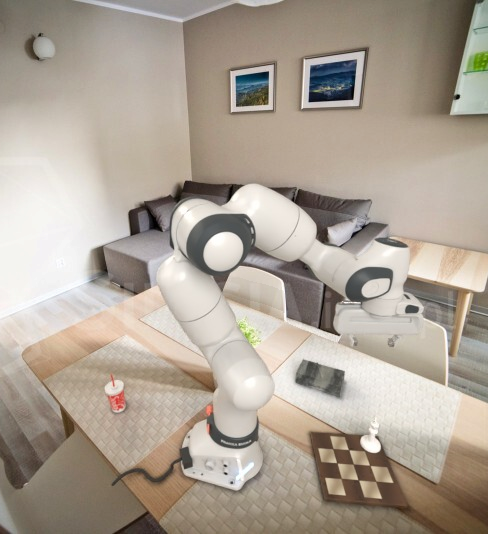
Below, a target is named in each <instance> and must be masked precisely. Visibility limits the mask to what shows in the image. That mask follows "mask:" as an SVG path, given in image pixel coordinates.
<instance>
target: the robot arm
mask: <svg viewBox="0 0 488 534" xmlns="http://www.w3.org/2000/svg"><path fill="white" fill-rule="evenodd" d="M317 233H318V228H317V224H316V222H315V221H314V220H313V219H312V217H311V216H310V215H309V214H308V213H307V212H306V211H305V210H304V209H303V208H302V207H300V206H299V205H298V204H296V203H295V202H294V201H292V200H291V199H289V198H287V196H285V195H283V194H281V193H280V192H278V191H275V190H273V189H272V188H270V187H267V186H264V185H262V184H260V183H253V182H252V183H248V184H245V185H243V186H241V187H240V188H239V189H237V190H236V191H235V192H234V194H233V195H232V196H231V198H230V199H229V201H228V202H226V203H225V204H222V205H219V204H217V203H214V202H212V201H211V200H210V199H208V198H206V197H203V196H194V195H193V196H187V197H185V198H182V199H181V200H179V201H178V202H177V203H176V204H175V205H174V207H173V208H172V210H171V213H170V216H169V247H170V248H171V249H172V250H173V253H172V255H170V256H168V258H166V259H165V260H164V261H162V263H161V264H159V267H158V268H157V271H156V275H155V280H156V284H157V287H158V289H159V290H158V291H159V292H160V295H161V296H162V298H163V300H164V303H165V304H166V306H167V308H168V310H169V311H170V314H171V315H172V316H173V317H174V319H175V320H176V322H177V323H178V325H179V327H180V328H181V329H182V331H183V332H184V333H185V335H186V336H187V337H188V339H189V340H190V342H191V344H193V345H194V346H196V348H198V350H199V351H200V352H201V354H202V355H203V357H204V359H205V360H206V362H207V364H208V365H209V367H210V369H211V371H212V374H213V376H214V378H215V381H216V384H217V388H216V389H215V390H214V392H213V394H212V405H210V404H209V405H207V406H206V407H205V408H206V411H205V414H206V415H207V417H206V419H202V420H200V421H198V422H196V423H195V424H194V425H193V427H192V428H191V429H189V431H188V432H187V433H186V435H185V437H184V438H183V443H182V445H181V448H179V456H180V457H179V458H176V459H174V460H173V461H172V462H171V463H170V465H169V466H170V468H169V469H167V471H166V473H165V474H163V475H162V476H160V477H158V478H157V477H156V478H154V477H152V476H150V474H149V473H148V472H147V471H146V470H144V469H143V468H132V469H129V470H126V471H125V472H123V473H122V474H120V475H119V476H118V477H117V478H115V480H113V481H112V483H111V485H110V486H111V487H114V486H115V485H117V483H119V481H120V480H121V479H123V478H125V477H126V476H127V475H130V474H133V473H141V474H143V475H144V477H146V479H147V480H148V481H149V482H152V483H159V482H162V481H163V480H165V479H166V478H167V477H168V476H169V475H170V474H171V473H172V471H173V470H174V467H175V465H176V464H178V463H179V462H180V467H181V471H182V473H183V475H184V476H186V477H188V478H192V479H195V480H198V481H202V482H205V483H209V484H212V485H215V486H219V487H222V488H225V489H228V490H232V491H236V492H237V491H240V490H241V489H242V488H243V486H244V485H245V483H247V482H248V481H249V480H250V479H252V478H254V477H255V476H256V475H257V474H258V473H259V472H260V470H261V468H262V466H263V463H264V454H263V450H262V448H261V446H260V442H259V437H260V421H259V420H260V419H259V416H258V410H260V409H262V408H264V407H265V406H267V404H268V403H269V402H270V401H271V399H273V395H274V393H275V390H276V389H275V388H276V385H275V381H274V378H273V376H272V373H271V372H270V370H269V367H268V366H267V364H266V362H265V361H264V359H262V357H261V356H260V354H259V353H258V351H257V350H256V349H255V348H254V346H253V345H252V344H251V342H250V341H249V339H248V338H247V337H246V336H245V334H244V332H243V331H242V329H241V328H240V326H239V323H238V321H237V317H236V314H235V312H234V311H233V308H232V306H231V305H230V304H229V302H228V300H227V298H226V297H225V295H224V293H223V291H222V289H221V288H220V286H219V285H218V283H217V281H216V280H215V278H214V277H223V276H226V275H229V274H231V273H232V272H234V271H235V270H237V269H238V268H239V267H240V266H241V265H242V264H243V263H244V261H245V260H246V259H247V257H248V256H249V254H250V252H251V251H253V249H254V248H255V247H256V248H258V249H259V250H261V251H262V252H264V253H266V254H267V255H268V256H271V257H273V258H275V259H278V260H282V261H284V262H288V263H290V262H294V261H296V260H299V261H301V262H302V263H304V264H305V266H306V267H307V270H308V271H309V273H310V274H311V276H312V277H313V278H314V279H316V280H318V281H319V282H321V283H323V284H325V285H326V286H328V287H329V288H330V289H331V290H332V291H334V292H337V293H338V294H339V295H340V296H342V297H344V298H345V299H346V300H345V299H343V300H341V301H340V302H339V301H338V302H337V303H336V304H335V306H334V317H333V323H332V325H333V329H334V331H335V332H337V334H340V335H347V336H348V338H349V345H350V347H358V343H359V341H358V340H357V337H355V335H381V336H382V335H383V336H386V335H387V336H392V337H390V338H387V343H386V345H387V346H388V348H396V347H397V344H398V343H399V342H400V341H402V340H403V338H404V336H418V335H419V334H421V333H422V330H423V326H424V315H423V314H422V313H423V312H424V309H425V307H424V305H423V304H422V302H421V301H420V300H419V299H418V298H417V297H416V296H414V294H412V293H410V292H407V291H404V285H405V282H406V281H407V279H408V276H409V271H410V264H411V248H410V246H409V245H408V244H407V243H405V242H403V241H400V240H398V239H395V238H390V237H376V238H374V239H373V240H372V241H371V244H370V246H369V247H368V248H367V249H366V250H365V251H364V252H363V253H361V254H359V255H355V254H354V253H352V252H350V251H348V250H346V249H344V248H342V247H341V246H339V245H337V244H335V243H327V242H322V241H320V240H318V239H317Z"/></svg>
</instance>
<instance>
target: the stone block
mask: <svg viewBox="0 0 488 534" xmlns="http://www.w3.org/2000/svg"><path fill="white" fill-rule="evenodd" d="M345 376H346V371H345V370H342V369H339V368H335V367H332V366H328V365H324V364H322V363H318V362H315V361H311V360H308V359H304V358H303V359H302V360H301V362H300V364H299V366H298V368H297V370H296V373H295V383H296V384H299V385H302V386H304V387H308V388H312V389H315V390H319V391H320V392H323V393H326V394H329V395H332V396H333V395H334V396H335V397H338V398H341V396H342V391H343V386H344V383H345Z"/></svg>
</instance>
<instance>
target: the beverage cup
mask: <svg viewBox="0 0 488 534" xmlns="http://www.w3.org/2000/svg"><path fill="white" fill-rule="evenodd" d="M110 379H111V381H109V382H107V384H105V386H104V392H105V394H106V396H107V399H108V402H109V405H110V407H111V410H112V412H113V413H115V414H116V413H117V414H119V413H122V412H123V411H124V410H125V409H126V407H127V403H126V397H125V390H124V389H125V384H124V382H123V381H122V380H121V379H114V376H113V374H110Z"/></svg>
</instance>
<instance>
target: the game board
mask: <svg viewBox="0 0 488 534" xmlns="http://www.w3.org/2000/svg"><path fill="white" fill-rule="evenodd" d="M364 435H365V434H364ZM364 435H363V434H349V433H335V432H334V433H333V432H317V431H310V434H309V436H310V440H311V444H312V448H313V454H314V457H315V464H316V468H317V473H318V477H319V481H320V485H321V491H322V495H323V501H324V502H326V503H338V504H348V505H349V504H350V505H359V506H371V507H380V508H391V509H403V510H405V509H406V510H407V509H408V503H407V501H406V499H405V497H404V493H403V492H402V489H401V486H400V485H399V482H398V480H397V478H396V475H395V473H394V470H393V468H392V466H391V463H390V461H389V458H388V456H387V454H386V452H385V449H384V447H383V444H382V442H381V440H380V437H379V436H378V435H375V438H376V439H377V440H378V441H379V442H380V445H381V449H380V451H379V452H377V453H371V452H368V451H367V450H365V449H364V448H363V447H362V446H361V443H360V440H361V438H362V436H364Z"/></svg>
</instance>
